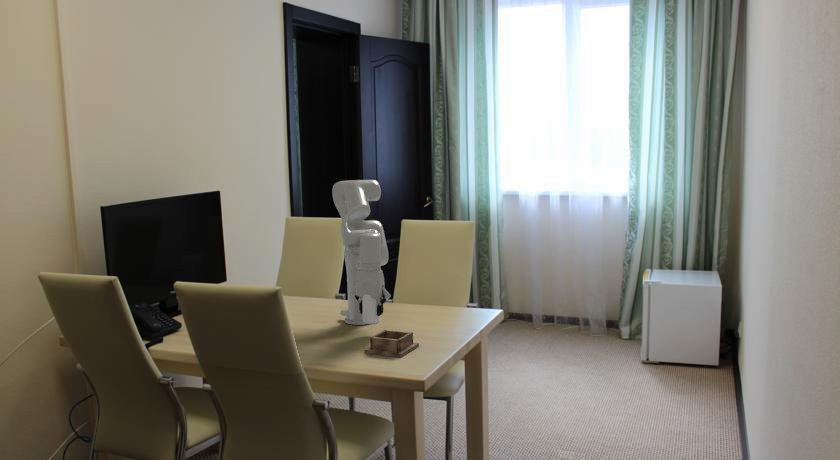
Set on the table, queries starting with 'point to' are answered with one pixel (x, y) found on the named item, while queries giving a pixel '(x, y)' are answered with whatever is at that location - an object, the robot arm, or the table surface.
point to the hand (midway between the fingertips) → (371, 313)
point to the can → (370, 310)
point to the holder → (392, 343)
